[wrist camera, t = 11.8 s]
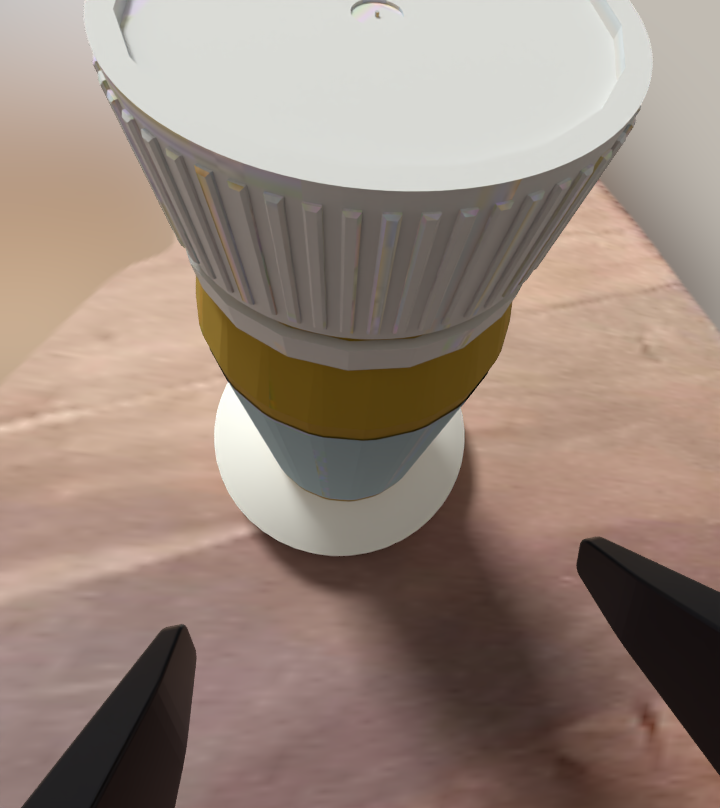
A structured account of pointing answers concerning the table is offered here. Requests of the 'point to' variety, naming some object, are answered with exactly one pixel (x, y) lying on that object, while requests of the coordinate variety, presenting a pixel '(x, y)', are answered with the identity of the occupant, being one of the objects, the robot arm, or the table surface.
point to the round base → (320, 518)
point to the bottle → (366, 193)
